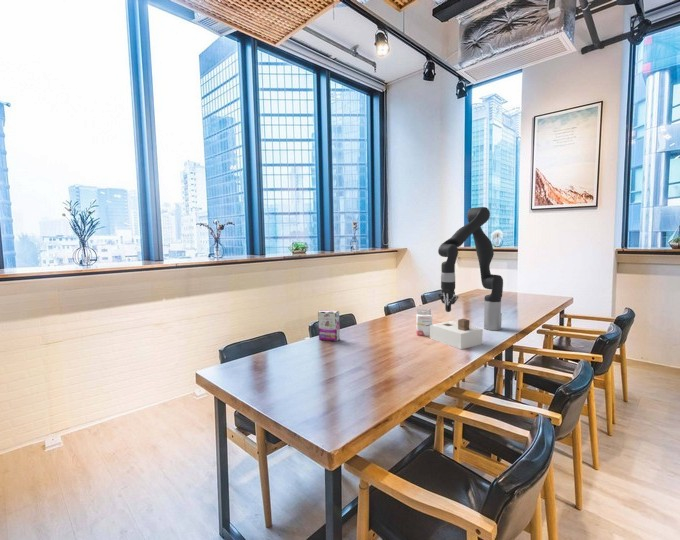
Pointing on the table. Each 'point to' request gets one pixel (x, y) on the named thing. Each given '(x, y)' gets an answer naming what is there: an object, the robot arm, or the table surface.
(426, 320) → the ink cartridge box
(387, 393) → the table surface
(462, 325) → the peg
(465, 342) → the housing
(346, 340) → the table surface
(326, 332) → the candy bar box
